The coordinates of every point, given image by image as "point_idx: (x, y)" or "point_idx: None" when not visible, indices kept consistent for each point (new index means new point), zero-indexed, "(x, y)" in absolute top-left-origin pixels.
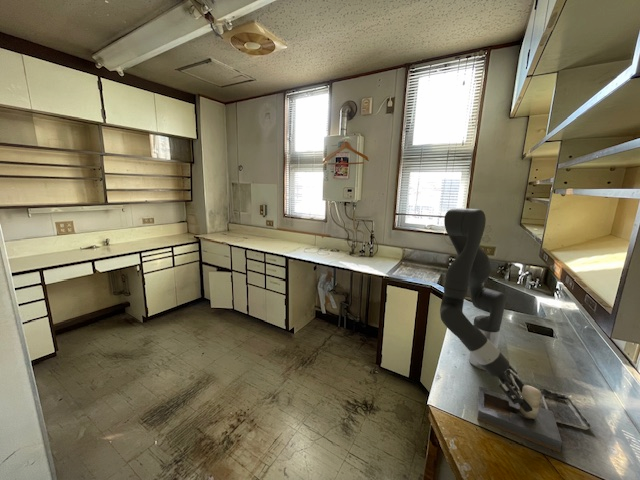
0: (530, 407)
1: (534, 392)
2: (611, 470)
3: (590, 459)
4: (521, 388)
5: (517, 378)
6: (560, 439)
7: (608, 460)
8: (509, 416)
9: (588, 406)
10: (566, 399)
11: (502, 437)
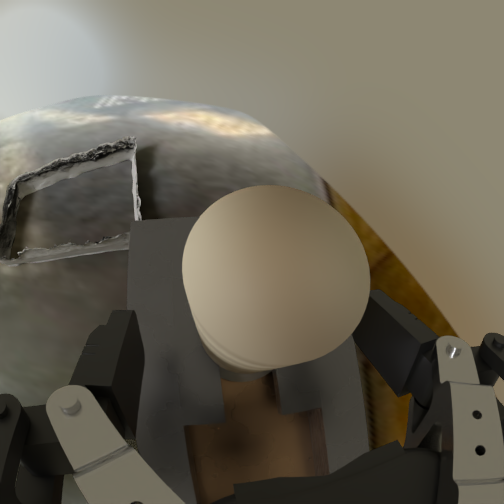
0: (387, 299)
1: (298, 241)
2: (271, 141)
3: (267, 170)
4: (135, 365)
5: (113, 426)
6: None
7: (236, 138)
8: (323, 411)
9: (30, 151)
10: (18, 190)
11: (377, 410)
